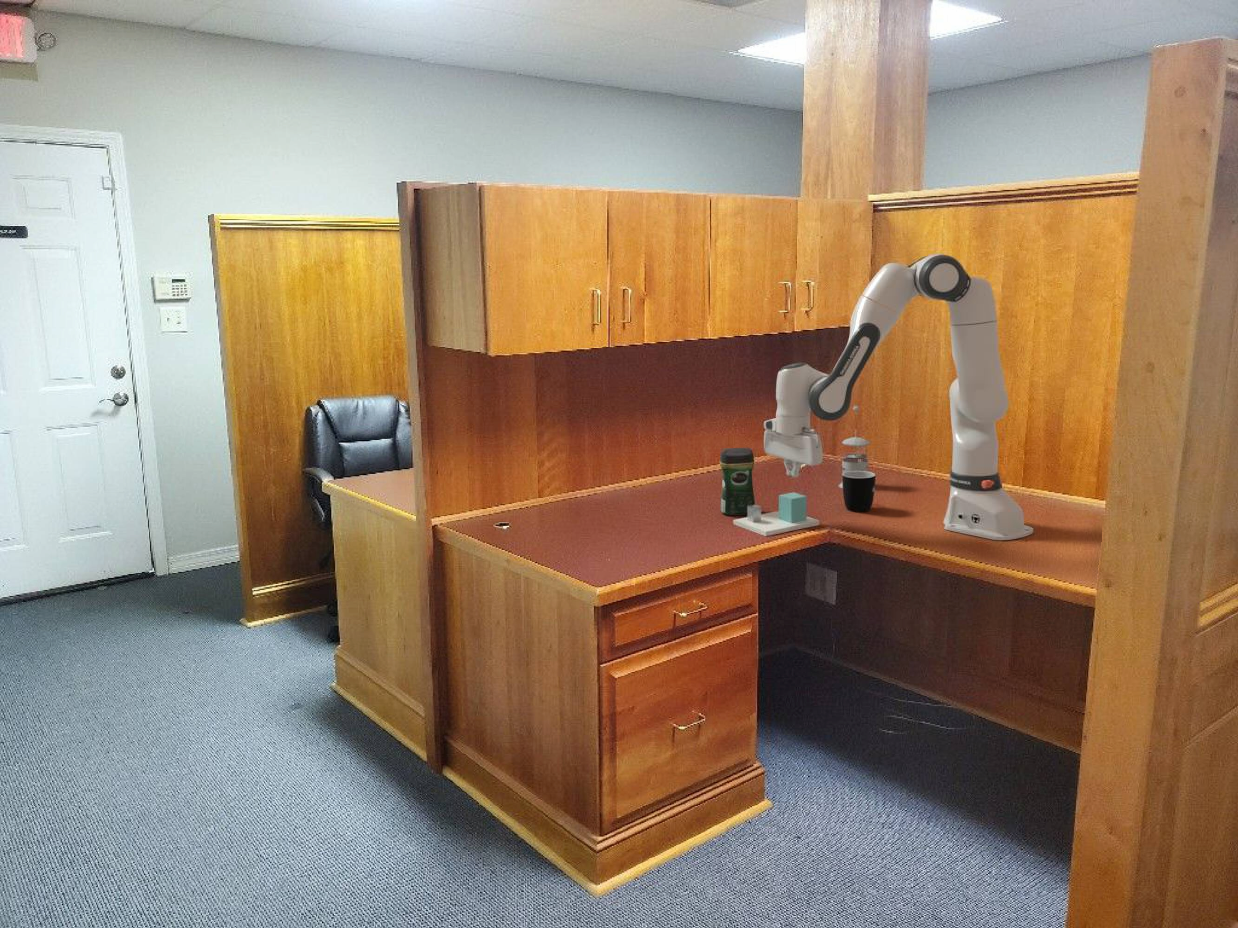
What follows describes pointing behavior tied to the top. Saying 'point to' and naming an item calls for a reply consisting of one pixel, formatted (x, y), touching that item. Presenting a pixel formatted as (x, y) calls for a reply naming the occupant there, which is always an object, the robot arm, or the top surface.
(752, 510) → the post
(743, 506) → the coffee jar
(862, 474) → the mug
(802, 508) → the turquoise block
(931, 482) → the top surface
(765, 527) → the board
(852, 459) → the french press
